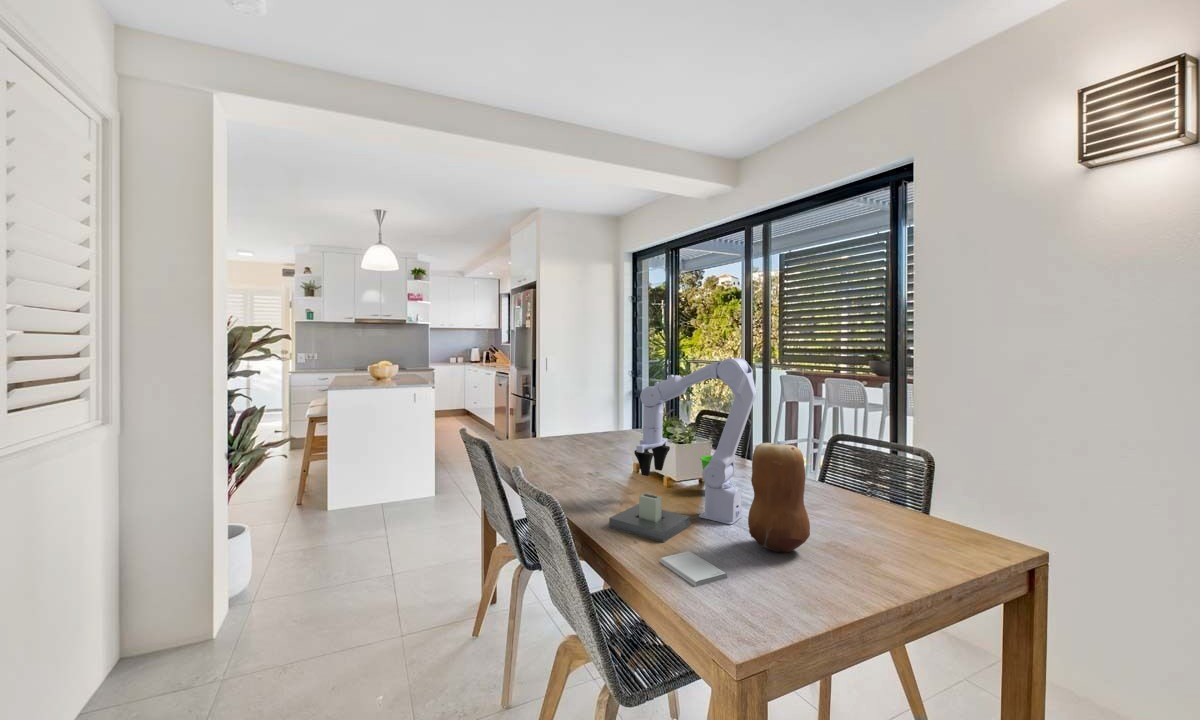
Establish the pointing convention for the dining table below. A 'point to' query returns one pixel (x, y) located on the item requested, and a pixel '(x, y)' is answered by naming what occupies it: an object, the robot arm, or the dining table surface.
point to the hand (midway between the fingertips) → (652, 472)
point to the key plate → (650, 524)
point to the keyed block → (650, 507)
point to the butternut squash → (778, 498)
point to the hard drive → (693, 568)
